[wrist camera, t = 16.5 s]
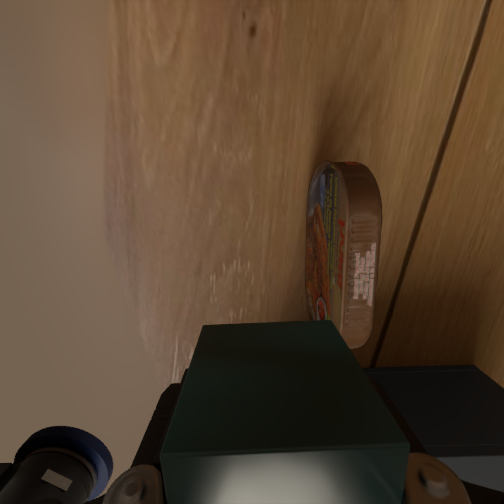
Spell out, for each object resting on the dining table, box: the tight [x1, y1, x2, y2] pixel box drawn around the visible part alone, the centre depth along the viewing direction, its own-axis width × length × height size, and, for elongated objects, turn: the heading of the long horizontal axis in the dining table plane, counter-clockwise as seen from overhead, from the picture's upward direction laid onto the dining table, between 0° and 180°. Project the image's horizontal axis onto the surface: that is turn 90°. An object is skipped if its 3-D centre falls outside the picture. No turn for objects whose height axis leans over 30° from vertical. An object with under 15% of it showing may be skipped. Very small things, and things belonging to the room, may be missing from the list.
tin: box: [305, 161, 382, 349], centre depth 20 cm, size 15×3×8 cm, turn 2°
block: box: [160, 320, 410, 504], centre depth 8 cm, size 5×5×5 cm
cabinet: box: [362, 365, 504, 492], centre depth 25 cm, size 15×13×10 cm
